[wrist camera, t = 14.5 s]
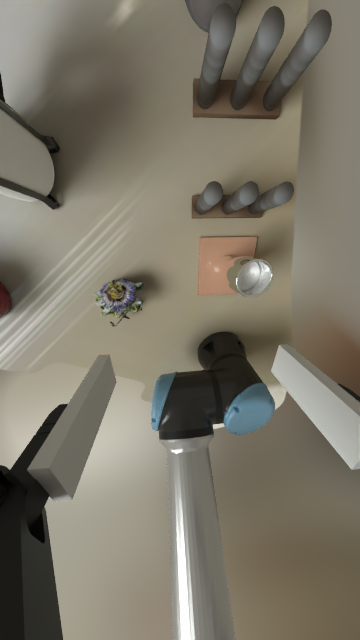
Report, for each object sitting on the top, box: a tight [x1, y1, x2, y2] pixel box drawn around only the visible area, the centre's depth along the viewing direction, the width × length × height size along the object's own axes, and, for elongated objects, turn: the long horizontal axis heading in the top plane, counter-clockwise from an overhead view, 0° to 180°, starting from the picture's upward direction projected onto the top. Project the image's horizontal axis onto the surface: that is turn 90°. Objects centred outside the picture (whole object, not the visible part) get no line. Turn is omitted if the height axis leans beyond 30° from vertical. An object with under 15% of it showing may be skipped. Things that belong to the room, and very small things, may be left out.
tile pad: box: [198, 237, 257, 295], centre depth 41 cm, size 14×14×1 cm
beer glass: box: [214, 256, 273, 297], centre depth 34 cm, size 7×7×15 cm
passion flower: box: [94, 279, 144, 327], centre depth 40 cm, size 11×11×12 cm
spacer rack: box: [192, 3, 332, 218], centre depth 27 cm, size 20×16×11 cm
